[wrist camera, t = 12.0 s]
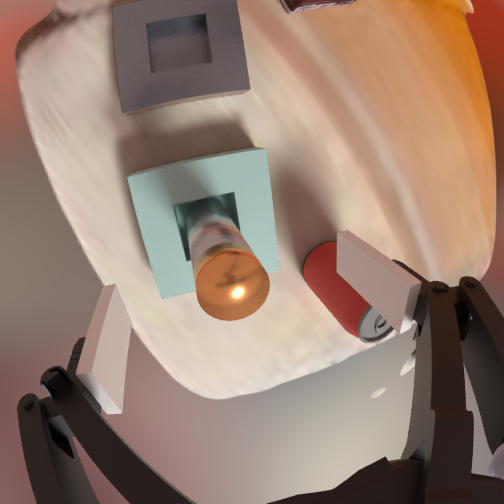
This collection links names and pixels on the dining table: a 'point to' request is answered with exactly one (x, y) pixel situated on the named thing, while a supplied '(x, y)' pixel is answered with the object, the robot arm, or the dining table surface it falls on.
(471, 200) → the dining table surface
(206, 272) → the pin
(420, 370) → the robot arm
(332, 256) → the beer can
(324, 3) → the supplement box
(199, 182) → the socket block
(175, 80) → the mount
